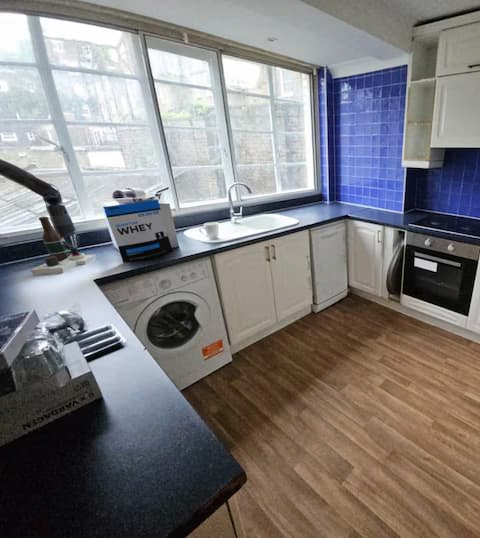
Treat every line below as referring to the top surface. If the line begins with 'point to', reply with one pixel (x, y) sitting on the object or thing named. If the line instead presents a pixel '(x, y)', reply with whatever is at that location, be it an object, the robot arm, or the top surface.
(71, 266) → the control panel
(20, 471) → the top surface
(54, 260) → the dial
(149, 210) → the protein powder
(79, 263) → the switch block
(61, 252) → the beer bottle
